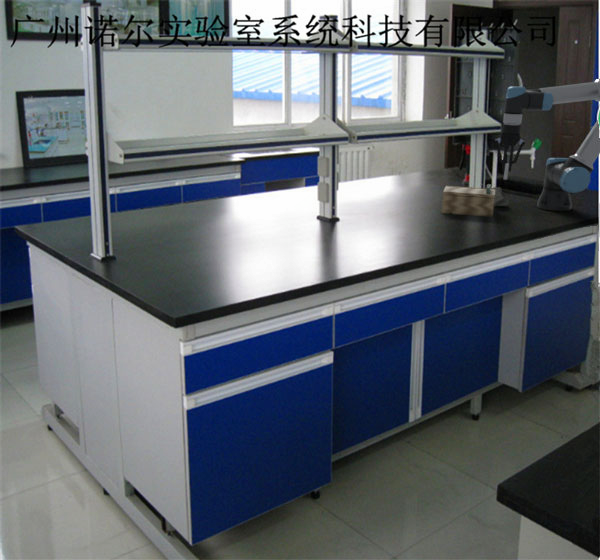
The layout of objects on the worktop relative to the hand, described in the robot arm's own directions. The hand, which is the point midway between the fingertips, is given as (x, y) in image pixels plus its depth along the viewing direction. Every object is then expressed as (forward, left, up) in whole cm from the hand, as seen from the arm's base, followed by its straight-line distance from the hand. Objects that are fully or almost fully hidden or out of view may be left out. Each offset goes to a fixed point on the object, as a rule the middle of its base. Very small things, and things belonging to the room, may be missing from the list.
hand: (505, 178), depth 312 cm
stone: (+4, -16, -16) cm, 23 cm away
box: (+15, 0, -16) cm, 22 cm away
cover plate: (+15, 0, -7) cm, 16 cm away
